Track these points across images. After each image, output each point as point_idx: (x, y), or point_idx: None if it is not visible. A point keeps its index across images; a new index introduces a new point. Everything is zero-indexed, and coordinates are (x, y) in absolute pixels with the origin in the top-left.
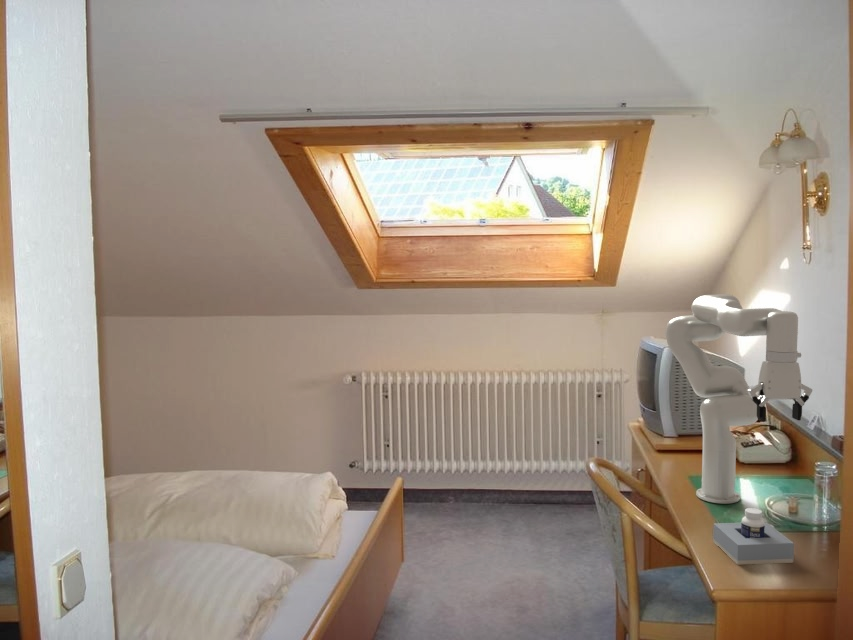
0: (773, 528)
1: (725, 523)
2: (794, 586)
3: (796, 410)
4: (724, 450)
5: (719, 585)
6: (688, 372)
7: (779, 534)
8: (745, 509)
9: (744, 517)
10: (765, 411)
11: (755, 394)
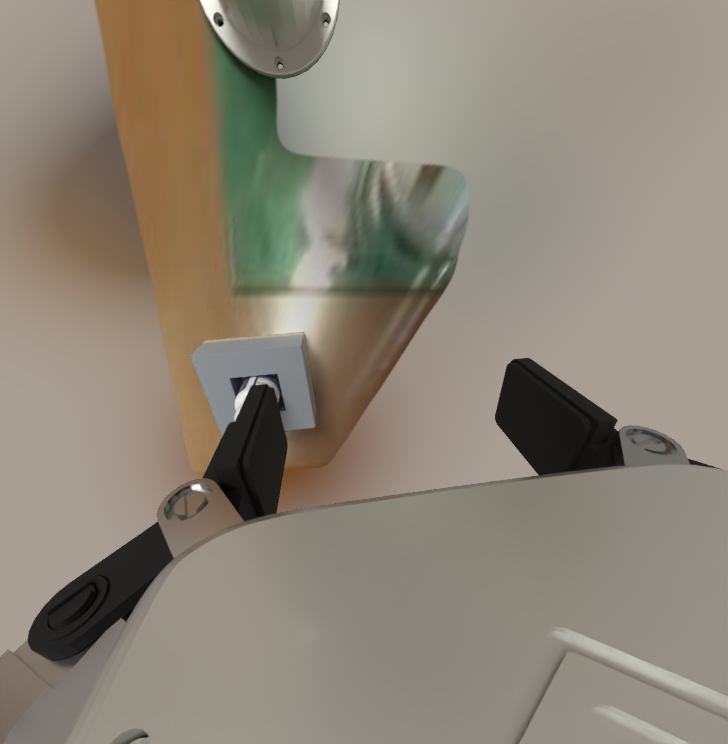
0: (304, 376)
1: (216, 355)
2: (291, 462)
3: (536, 445)
4: None
5: (197, 466)
6: None
7: (305, 399)
8: (235, 415)
9: (238, 404)
10: (274, 501)
11: (69, 729)
